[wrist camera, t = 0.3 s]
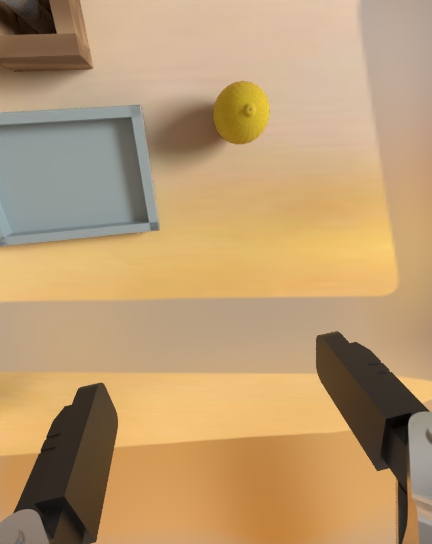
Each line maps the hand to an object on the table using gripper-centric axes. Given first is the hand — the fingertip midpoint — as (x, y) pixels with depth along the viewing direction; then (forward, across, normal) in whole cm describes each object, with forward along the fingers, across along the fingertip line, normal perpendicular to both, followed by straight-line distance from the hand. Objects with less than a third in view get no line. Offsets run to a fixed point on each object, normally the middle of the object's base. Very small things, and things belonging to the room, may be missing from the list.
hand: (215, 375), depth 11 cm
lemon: (+28, -8, -10) cm, 31 cm away
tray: (+28, +12, -6) cm, 31 cm away
